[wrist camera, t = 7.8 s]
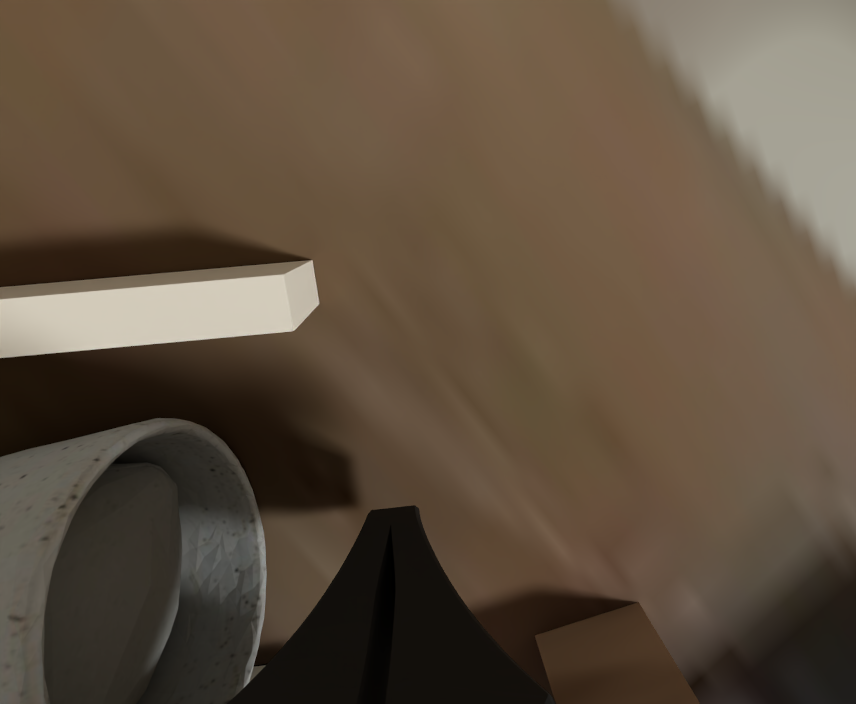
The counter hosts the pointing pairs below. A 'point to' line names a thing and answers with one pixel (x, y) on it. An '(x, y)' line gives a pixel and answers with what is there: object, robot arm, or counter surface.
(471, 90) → the counter surface
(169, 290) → the frame
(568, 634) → the walnut block
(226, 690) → the ceramic mug
